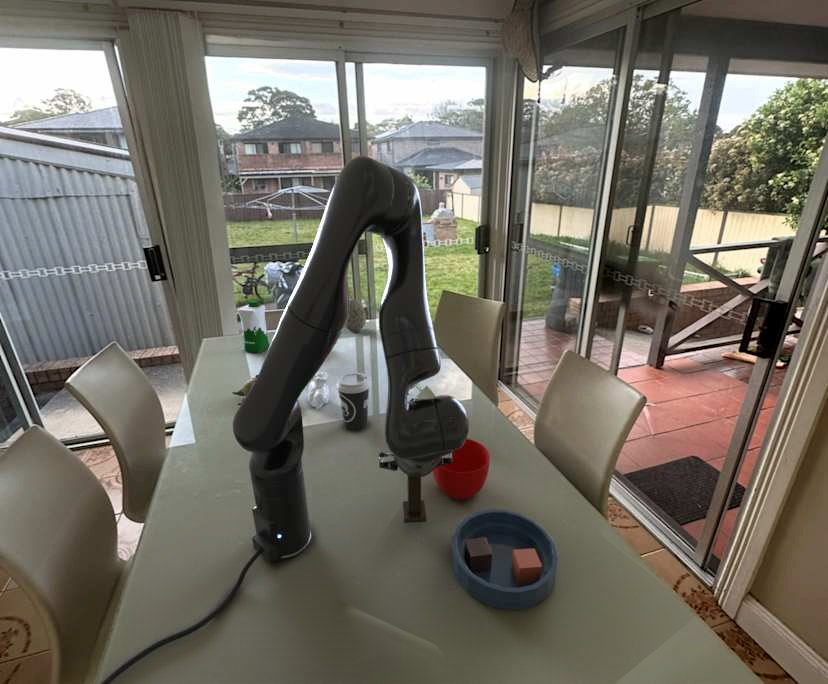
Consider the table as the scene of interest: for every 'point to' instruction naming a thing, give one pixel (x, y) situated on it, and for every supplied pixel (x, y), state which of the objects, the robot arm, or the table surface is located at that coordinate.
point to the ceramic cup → (464, 471)
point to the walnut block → (478, 555)
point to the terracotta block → (526, 566)
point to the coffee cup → (354, 400)
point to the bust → (318, 390)
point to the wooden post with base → (414, 502)
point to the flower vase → (424, 393)
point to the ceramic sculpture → (246, 389)
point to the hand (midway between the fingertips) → (413, 465)
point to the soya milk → (254, 326)
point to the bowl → (504, 559)
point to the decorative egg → (356, 316)
